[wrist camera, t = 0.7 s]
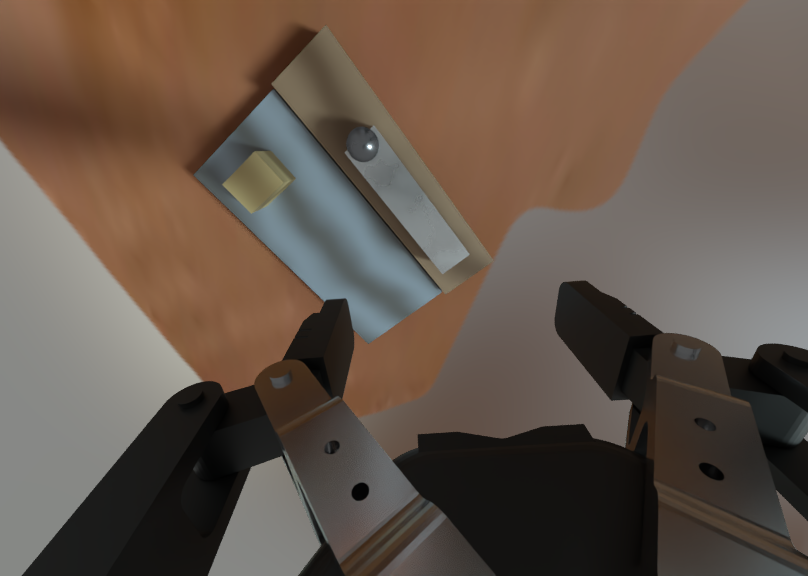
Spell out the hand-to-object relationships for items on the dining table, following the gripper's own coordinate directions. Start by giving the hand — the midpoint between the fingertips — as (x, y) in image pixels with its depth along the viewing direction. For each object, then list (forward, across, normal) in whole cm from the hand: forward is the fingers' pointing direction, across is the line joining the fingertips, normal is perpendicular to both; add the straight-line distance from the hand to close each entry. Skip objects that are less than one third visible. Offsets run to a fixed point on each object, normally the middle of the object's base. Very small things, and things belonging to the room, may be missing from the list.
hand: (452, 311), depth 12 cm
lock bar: (+19, +1, -1) cm, 19 cm away
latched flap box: (+22, +7, 0) cm, 23 cm away
